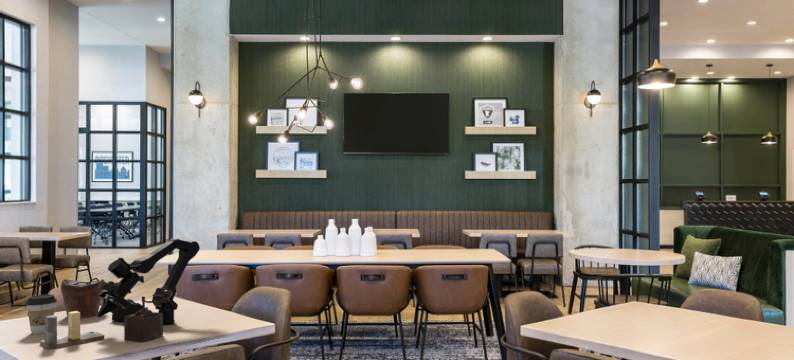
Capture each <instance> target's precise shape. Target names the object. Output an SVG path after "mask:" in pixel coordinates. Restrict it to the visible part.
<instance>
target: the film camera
mask: <svg viewBox="0 0 794 360" xmlns="http://www.w3.org/2000/svg"><path fill="white" fill-rule="evenodd" d="M125 299H126V300H127V301H128V302H129V305H128V306H127V308H126V309H125V308H122V306H121V305H120V304H119V305H118V307H119V308H117V309H115V310H113V311H111V312H109V313H111V322H114V323H124V317H125V316H128V315H132V314H135V313H136V312H138V311H140V310H142V303H140V302H136V301H134V300H132V299H130V298H129V299H128V298H125ZM148 308H149V307H146V306H145V309H148Z"/></svg>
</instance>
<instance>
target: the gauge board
mask: <svg viewBox="0 0 794 360" xmlns="http://www.w3.org/2000/svg"><path fill="white" fill-rule="evenodd" d="M101 340H105V334H103V333H100V332H99V331H96V330H93V331H86V332H80V339H74V340H71V339H69V338H68V335H65V336H60V337H58V316H56V315H55V314H54V315H51V316H45V333H44V339H42V340H39V345H40V346H41V347H43V348H44V349H46V350H53V349H59V348H64V347H70V346H74V345H80V344H85V343H92V342H96V341H101Z"/></svg>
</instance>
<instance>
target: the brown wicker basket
mask: <svg viewBox="0 0 794 360" xmlns="http://www.w3.org/2000/svg"><path fill="white" fill-rule="evenodd" d="M100 281H103V282H106V281H105V280H104V279H103V278H101V279H99V278H98V277H94V278H92V279H90V280H89V281H83V280H71V279H66V278H63V279H62V280H61V284H60V293H61V295H62V299H63V304H64V307H65V308H64V309H65V312H66V316H67V318H68V312H74V311H78V312H80V319H83V318H89V317H94V316H97V314H98V312H99V310H100V308H101V302H102V298H101V297H100V296H99V295H98V294H99V292H100V291H103V290H102V289H99V288H98V286H99V284H100Z"/></svg>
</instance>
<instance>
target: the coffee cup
mask: <svg viewBox="0 0 794 360" xmlns="http://www.w3.org/2000/svg"><path fill="white" fill-rule="evenodd" d="M57 302H58V299H57V298H56V297H55V294H48V293H46V294H38V295H36V294H35V295H32V296H29V297H28V298H27V300H26V301H25V306H26V309H27V314H28V315H27V316H28V321H29V329H30V332H31V334H32V335H43V334H44V335H45V316H51V315H55V311H56V303H57Z"/></svg>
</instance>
